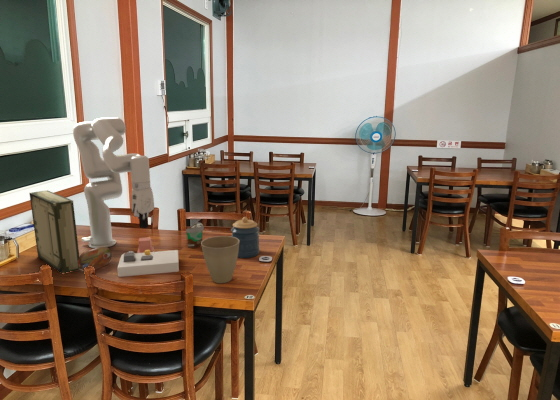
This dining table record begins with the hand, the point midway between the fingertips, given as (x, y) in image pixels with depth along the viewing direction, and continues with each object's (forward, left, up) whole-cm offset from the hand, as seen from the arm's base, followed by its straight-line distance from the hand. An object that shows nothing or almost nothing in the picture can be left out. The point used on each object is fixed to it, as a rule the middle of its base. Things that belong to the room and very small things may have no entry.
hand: (143, 227), depth 189 cm
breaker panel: (+2, -5, -17) cm, 17 cm away
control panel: (-38, +10, -17) cm, 43 cm away
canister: (+44, +2, -17) cm, 47 cm away
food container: (+23, +20, -17) cm, 35 cm away
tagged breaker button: (+1, -5, -16) cm, 17 cm away
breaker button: (-6, -5, -15) cm, 16 cm away
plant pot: (+30, -26, -17) cm, 43 cm away
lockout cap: (-1, +10, -17) cm, 20 cm away
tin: (-21, 0, -17) cm, 27 cm away
